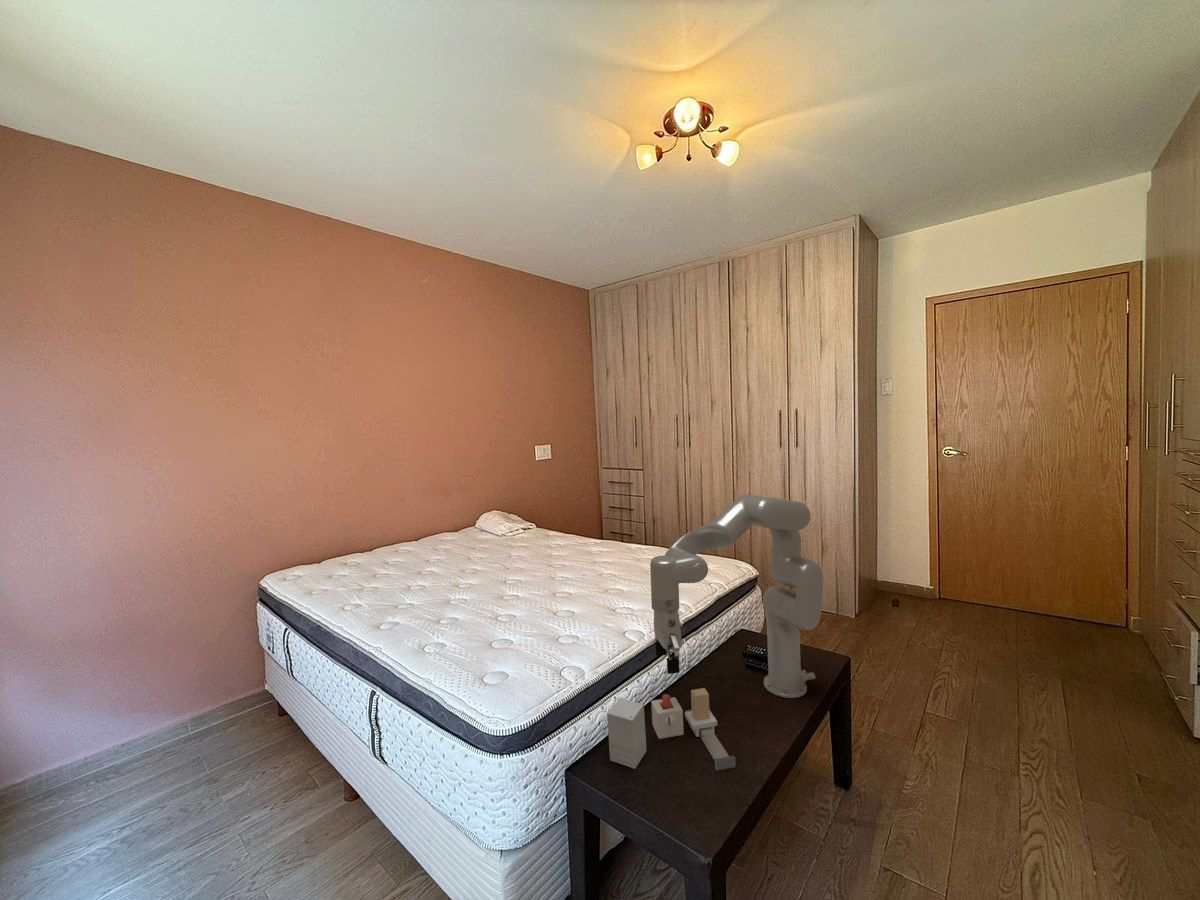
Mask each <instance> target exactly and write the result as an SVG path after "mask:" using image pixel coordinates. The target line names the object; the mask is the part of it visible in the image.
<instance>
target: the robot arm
mask: <svg viewBox="0 0 1200 900" xmlns="http://www.w3.org/2000/svg"><path fill="white" fill-rule="evenodd" d="M810 522H811V510H810V509H809V507H808V505H806V504H805V503H803V502H801V501H797V500H791V499H783V498H778V497H771V496H769V497H768V496H767V497H765V496H759V495H754V494H753V495H752V494H742V495H741V496H739V497H737V498H736V499H735V500H734V501H732V503H731V504H730V505H729V506H727V507H726V508H725V509H724V510H723V511H722V512H721V513H720V514H719V515H718V516H717V517H715V519H713V520H712V521H711V522H710V523H708V524H707V523H706V524H705V525H703V526H700V527H698V528H695V529H693V530H691V531H689V532H687V533H686V534H684V535H683V536H681V537H680V538H678V539H677V540H676V541H675V542H674V543H673V544H672V545H671V546H670V547H669V548H668V549H667V551H665V554H664V555H657V556H654V557H652V559H651V560H650V564H649V567H650V568H649V569H650V594H651V599H650V600H651V609H652V610H653V629H654V640H655V655H656V657H662V656H667V658H666V673H667V674H668V675H671V674H677V673H678V674H679V673H680V651H681V648H682V645H683V644H682V630H681V629H682V628H681V619H680V613H679V610H680V585H679V584H697V583H700V582H702V581H703V580H705V578H706V577H707V576H708V573H709V566H708V563H707V561H706V560H705V559H704V558H703V557H701V556H699V555H697V554H700V553H702V552H703V551H707V550H710V549H711V550H712V549H720V548H726V547H730V546H733V545H734V544H735V543H736V542H737V541H739V539H740V538H741V537H742V536H743V535H744V534H745V533H746V532H747V531H748V530H749V529H750V528H751V527H753V526H757V527H762V528H764V529H765V528H766V529H769V532H770V534H771V553H770V564H769V565H770V566H769V567H770V569H769V570H770V571H769V572H770V575H771V578H772V579H773V580H774V581H776V582H777V583H779V584H782V585H785V586H787V587H790V588H792V589H795V590H792V589H790V588H787V587H785V586H779V585H773V586H771V587H768V588H767V589H766V590H765V591H764V593H763V596H762V607H763V611H764V616H765V621H766V631H767V632H766V633H767V634H766V636H767V637H766V638H767V641H766V642H767V664H768V665H767V666H768V667H767V668H768V674H767V675H766V676H765V677H763V686H764V688H765V689H766V690H767V691H768V692H769V693H771V694H772V695H775V696H778V697H781V698H788V699H795V698H797V699H798V698H800V697H803V696H804V695H806V694H807V691H808V687H807V684H806V682H807V681H808V680H809V681H811V680H815V679H816V675H815V673H814V672H807V670H805V669H802V667H801V665H802V663H801V634H800V630H802V631H811V630H813V629H815V628H816V627H817V626H818V624H819V622H820V619H821V616H822V615H821V614H822V607H823V606H822V605H823V594H824V574H823V571H822V569H821V567H820V565H819V564H818V563H817V562H815V561H814V560H811V559H808V558H805V557H802V536H801V532H800V531H802V530H804V529H805V528H806V527H807V526H808V525H809V524H810ZM670 645H671V646H670ZM671 650H672V652H671Z"/></svg>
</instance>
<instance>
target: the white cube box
mask: <svg viewBox="0 0 1200 900" xmlns="http://www.w3.org/2000/svg"><path fill="white" fill-rule="evenodd" d="M670 701H671V708H670V709H664V710H663V702H662V698H660V699H655V700H651V701H650V702H651V720H652V722H651V723H652V724H651V725H652V726H653V730H654V731H655V733H656V736H657V738H658V740H660V739H661V740H663V739H667V738H672V737H676V736H682V735H684V732H685V731H684V711H683V708H682V706H681V705H680V703H679V701H678V700H677V698H676V697H675V696H674V697H670Z"/></svg>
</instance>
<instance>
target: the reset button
mask: <svg viewBox="0 0 1200 900" xmlns="http://www.w3.org/2000/svg"><path fill="white" fill-rule="evenodd" d="M661 697H662V698H661V699H662V702H663V710H664V709H670V708H671V701H670V698H671V695H670V694H668V693H666V694H665V693H664V694H662V696H661Z"/></svg>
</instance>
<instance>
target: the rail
mask: <svg viewBox="0 0 1200 900" xmlns="http://www.w3.org/2000/svg"><path fill="white" fill-rule="evenodd" d="M689 711H692V708H690V709H686V710H685V712H689ZM685 712H684V713H685ZM685 720H686V721H687V719H686V718H685ZM699 737H700V738H701V740H702V742H703V744H704V745H705V748H706V749H707V750H708V752H709V754H710V755H711V757H712V759H713V761H714V769H715V771H716V772H718V771H724V770H729V769H733V768H737V767H736V757H735V755H729V754H728V752H727V751H726V749H725V748H724V746H723V744H722V743H721V741H720V740H719V739H718V737H717V735H716V734H714V732H713V731H712V729H711V728H710V727H707V728H701V729H699Z"/></svg>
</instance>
